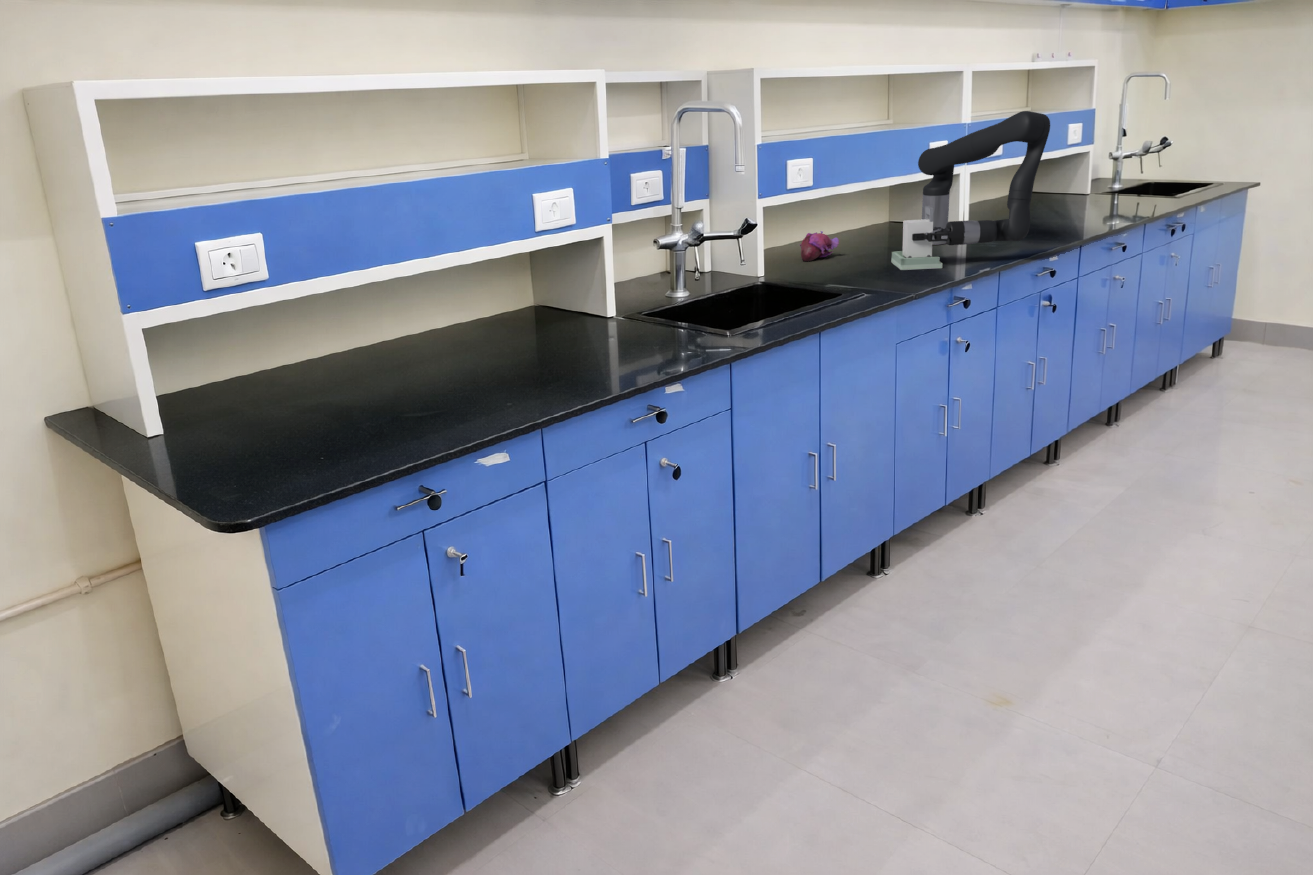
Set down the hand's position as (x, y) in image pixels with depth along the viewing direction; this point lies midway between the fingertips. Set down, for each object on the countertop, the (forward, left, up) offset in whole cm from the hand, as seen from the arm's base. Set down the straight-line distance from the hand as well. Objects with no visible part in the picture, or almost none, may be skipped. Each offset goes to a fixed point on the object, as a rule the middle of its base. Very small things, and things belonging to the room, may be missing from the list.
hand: (910, 235), depth 313 cm
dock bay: (0, +2, -10) cm, 10 cm away
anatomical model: (-21, -27, -10) cm, 36 cm away
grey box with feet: (0, +2, -7) cm, 8 cm away
